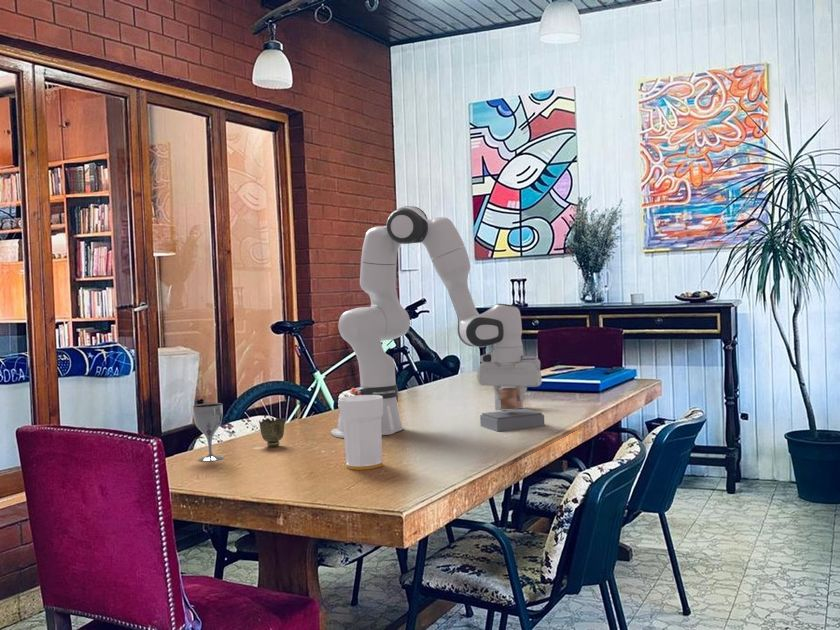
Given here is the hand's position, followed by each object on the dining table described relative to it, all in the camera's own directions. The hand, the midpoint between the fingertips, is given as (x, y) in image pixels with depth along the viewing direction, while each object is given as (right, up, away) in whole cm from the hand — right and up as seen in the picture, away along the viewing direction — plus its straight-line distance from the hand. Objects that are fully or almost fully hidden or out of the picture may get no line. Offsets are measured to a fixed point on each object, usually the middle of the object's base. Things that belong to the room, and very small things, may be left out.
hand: (510, 400), depth 266 cm
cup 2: (-42, -12, -48) cm, 65 cm away
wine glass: (-86, -14, -28) cm, 91 cm away
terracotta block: (0, -2, 0) cm, 2 cm away
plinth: (0, -8, 0) cm, 8 cm away
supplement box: (+3, -7, +36) cm, 36 cm away
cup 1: (-71, -12, -14) cm, 73 cm away
